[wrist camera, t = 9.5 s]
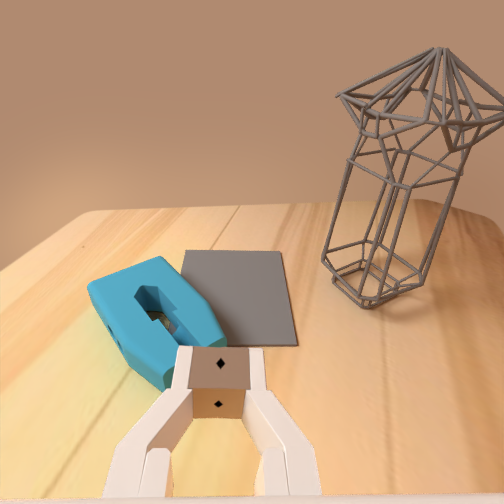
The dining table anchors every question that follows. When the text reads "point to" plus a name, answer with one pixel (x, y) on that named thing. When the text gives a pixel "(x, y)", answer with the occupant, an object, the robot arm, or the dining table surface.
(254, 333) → the mat
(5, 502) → the robot arm
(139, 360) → the block
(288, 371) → the dining table surface
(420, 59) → the geometric lantern
